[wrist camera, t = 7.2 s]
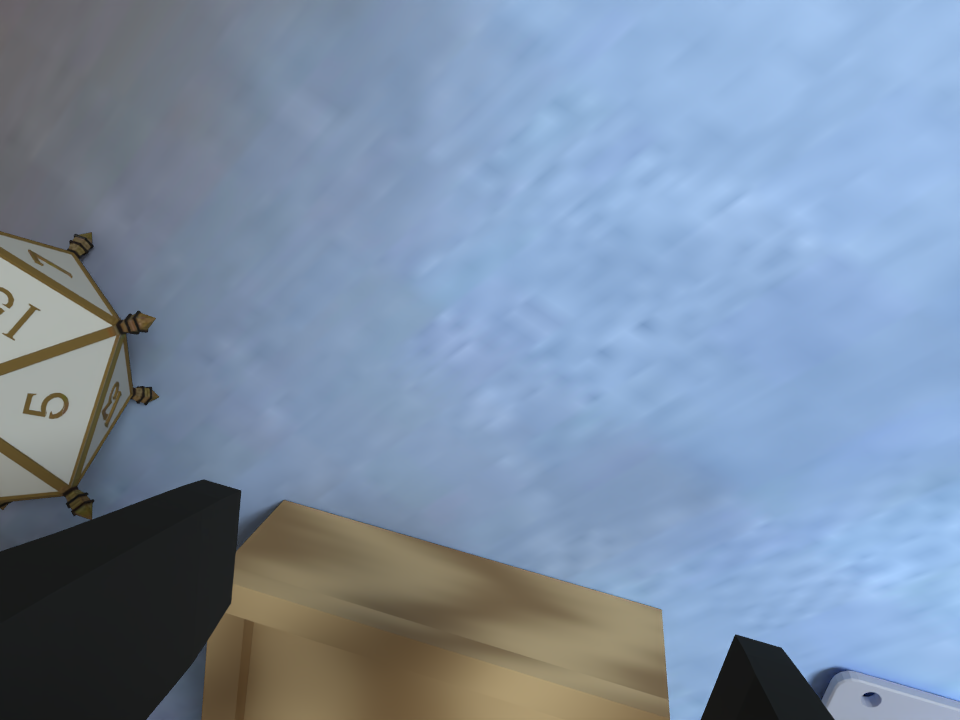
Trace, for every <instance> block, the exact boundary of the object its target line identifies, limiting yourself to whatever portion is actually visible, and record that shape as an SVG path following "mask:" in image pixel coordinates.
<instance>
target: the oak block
mask: <svg viewBox="0 0 960 720" xmlns="http://www.w3.org/2000/svg"><path fill="white" fill-rule="evenodd" d="M201 720H670V713H669V700H668V687H667V674H666V661H665V647H664V634H663V621H662V610H661V609H657V608H654V607H651V606H647V605H644V604H640V603H637V602H633V601H630V600H626V599H623V598H620V597H616V596H613V595H609V594H606V593H602V592H599V591H596V590H592V589H589V588H585V587H582V586H578V585H575V584H571V583H568V582H565V581H561V580H558V579H554V578H551V577H547V576H544V575H540V574H537V573H534V572H530V571H527V570H523V569H520V568H516V567H513V566H509V565H506V564H503V563H499V562H496V561H492V560H489V559H485V558H482V557H479V556H475V555H472V554H468V553H465V552H461V551H458V550H454V549H451V548H448V547H444V546H441V545H437V544H434V543H430V542H427V541H423V540H420V539H417V538H413V537H410V536H406V535H403V534H399V533H396V532H393V531H389V530H386V529H382V528H379V527H375V526H372V525H368V524H365V523H362V522H358V521H355V520H351V519H348V518H344V517H341V516H337V515H334V514H331V513H327V512H324V511H320V510H317V509H313V508H310V507H306V506H303V505H300V504H296V503H293V502H289V501H286V500H283V501H282V503H281V504H280V505H279V506H278V507H277V508H276V509H275V510H274V511H273V512H272V513H271V514H270V515H269V517H268V518H267V519H266V520H265V521H264V522H263V523H262V524H261V525H260V526H259V527H258V528H257V529H256V531H255V532H254V533H253V534H252V535H251V536H250V537H249V538H248V539H247V540H246V541H245V542H244V543H243V545H242V546H241V547H240V548H239V549H238V550H237V551H236V555H235V566H234V578H233V589H232V600H231V604H230V606H229V607H228V609H227V611H226V612H225V614H224V615H223V617H222V619H221V620H220V622H219V623H218V625H217V627H216V628H215V630H214V631H213V633H212V635H211V636H210V638H209V639H208V641H207V652H206V665H205V678H204V691H203V705H202V718H201Z"/></svg>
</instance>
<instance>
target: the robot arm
mask: <svg viewBox="0 0 960 720" xmlns="http://www.w3.org/2000/svg"><path fill="white" fill-rule="evenodd" d="M240 499H241V490H238V489H234V488H231V487H227V486H224V485H221V484H217V483H214V482H210V481H207V480H200V481H197V482H194V483H190V484H187V485H184V486H181V487H179V488H176V489H173V490H170V491H167V492H165V493H162V494H159V495H157V496H154V497H151V498H149V499H146V500H143V501H141V502H138V503H135V504H133V505H130V506H127V507H125V508H122V509H120V510H117V511H114V512H111V513H109V514H106V515H103V516H101V517H98V518H95V519H93V520H90V521H87V522H85V523H82V524H79V525H76V526H74V527H71V528H68V529H66V530H63V531H60V532H57V533H55V534H52V535H49V536H46V537H43V538H40V539H37V540H34V541H31V542H28V543H25V544H22V545H19V546H16V547H13V548H10V549H7V550H4V551H1V552H0V720H146V719H147V718H148V717H149V715H150V714H151V713H152V712H153V711H154V710H155V708H156V707H157V706H158V705H159V703H160V702H161V701H162V700H163V699H164V697H165V696H166V695H167V694H168V693H169V691H170V690H171V689H172V688H173V687H174V685H175V684H176V683H177V682H178V680H179V679H180V678H181V677H182V676H183V674H184V673H185V672H186V671H187V669H188V668H189V667H190V666H191V664H192V663H193V662H194V660H195V659H196V657H197V656H198V654H199V653H200V651H201V650H202V648H203V647H204V645H205V644H206V642H207V641H208V639H209V638H210V636H211V635H212V633H213V631H214V630H215V628H216V627H217V625H218V623H219V622H220V620H221V619H222V617H223V615H224V614H225V612H226V611H227V609H228V607H229V606H230V604H231V600H232V589H233V578H234V566H235V555H236V544H237V533H238V521H239V510H240ZM868 692H875V694H874V695H872V696H869V697H865V696H863V695H864V694H865V693H868ZM701 720H960V702H958V701H955V700H951V699H948V698H944V697H941V696H937V695H934V694H931V693H927V692H924V691H920V690H917V689H913V688H910V687H907V686H903V685H900V684H896V683H893V682H889V681H886V680H883V679H879V678H876V677H872V676H869V675H865V674H862V673H859V672H855V671H843V672H840V673H838V674H836V675H835V676H834V677H833V678H832V679H831V681H830V683H829V685H828V688H827V690H826V692H825V694H824V696H823V698H822V700H820V699H819V697H818V696H817V694H816V693H815V692H814V690H813V689H812V688H811V686H810V685H809V684H808V682H807V681H806V679H805V678H804V677H803V675H802V674H801V673H800V671H799V670H798V669H797V667H796V666H795V665H794V663H793V662H792V661H791V659H790V658H789V657H788V655H787V654H786V653H785V652H784V650H783V649H782V648H780V647H777V646H773V645H770V644H767V643H763V642H760V641H756V640H753V639H749V638H746V637H743V636H739V635H736V634H735V636H734V639H733V641H732V644H731V646H730V649H729V651H728V653H727V656H726V658H725V661H724V663H723V666H722V668H721V671H720V673H719V676H718V678H717V681H716V683H715V686H714V688H713V691H712V693H711V696H710V698H709V701H708V703H707V706H706V708H705V710H704V713H703V715H702V718H701Z"/></svg>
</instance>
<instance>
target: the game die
mask: <svg viewBox="0 0 960 720" xmlns="http://www.w3.org/2000/svg"><path fill="white" fill-rule="evenodd" d="M69 242H70V246H69V249H67V250H64V249H60V248H57V247H53V246H50V245H46V244H43V243H39V242H36V241H32V240H29V239H25V238H22V237H18V236H15V235H11V234H8V233H4V232H1V231H0V509H2V510H4V509H5V507H6V506H7V505H8V504H9V503H11V502H13V501H21V500H31V499H40V498H50V497H60V496H65V497H66V499H67V503H66V505H67V506H68V508H71V509H72V511H71V512H72V514H73V515H74V516H75V515H78V516H81V517H84V518H87V519H90V520H92V503H93V502H94V500H93V499H92V500H90V499H89V498H88V496H87V495H88V493H83V492H81V491H80V490H78V487H77V485H78V484H79V482H80V480H81V479H82V477H83V476H84V474H85V472H86V471H87V469H88V467H89V466H90V464H91V462H92V461H93V459H94V458H95V456H96V454H97V453H98V451H99V449H100V448H101V446H102V444H103V443H104V441H105V439H106V438H107V436H108V435H109V433H110V431H111V430H112V428H113V426H114V425H115V423H116V421H117V420H118V418H119V417H120V415H121V413H122V412H123V410H124V408H125V407H126V405H127V403H128V402H129V400H130V399H133V400H135V401H136V402H137V403H140V402H142V403H144V404H145V405H147V404H148V402H150V401H152V400H155V399H157V398H159V396H158V395H157V394H156V393H155V392H154V391H153V390H152V387H146V388H145V387H144V386H140V387H137V388H133V384H132V377H131V369H130V361H129V353H128V345H127V337H126V334H127V333H130V334H139V332H148V328H149V327H150V326H151V324H152V323H153V322H154V320H155V319H156V318H154V317H151V316H148V315H145V314H142V313H141V312H140V311H137V312H136V314H134V315H132V314H129V315H128V316H127V317H126V319H124V320H121V319H120V318H119V316H118V315H117V313H116V312H115V310H114V309H113V308H112V306H111V305H110V303H109V302H108V300H107V299H106V297H105V296H104V294H103V293H102V292H101V290H100V289H99V287H98V286H97V284H96V283H95V281H94V280H93V279H92V277H91V276H90V274H89V273H88V271H87V270H86V268H85V267H84V266H83V264H82V263H81V261H80V260H79V257H80V255H83V254H86V253H88V251H87V250H88V249H90V248H93V247H94V246H93V245H92V232H91V233H86V234H81V235H77V234H75V235H74V239H73V241H72V240H70V241H69Z"/></svg>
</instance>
